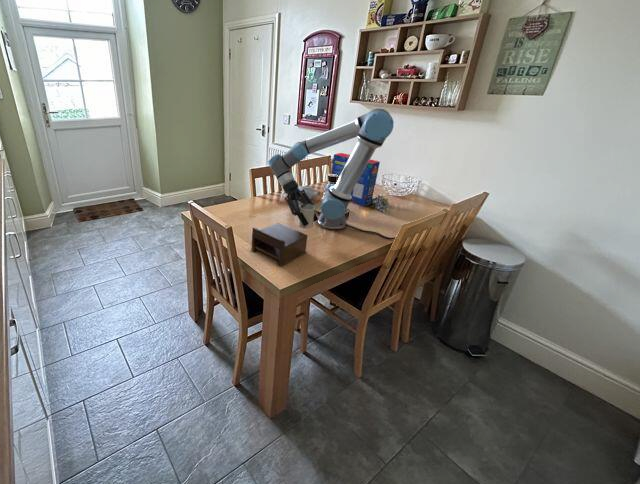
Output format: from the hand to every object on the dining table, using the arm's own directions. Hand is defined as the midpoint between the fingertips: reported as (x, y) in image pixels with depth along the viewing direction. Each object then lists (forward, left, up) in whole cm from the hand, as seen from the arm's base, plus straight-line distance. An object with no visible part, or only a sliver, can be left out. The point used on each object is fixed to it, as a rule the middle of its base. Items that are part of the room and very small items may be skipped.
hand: (311, 222), depth 160 cm
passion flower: (-37, -54, -10) cm, 67 cm away
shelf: (+13, +16, -10) cm, 22 cm away
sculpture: (+11, -54, -10) cm, 56 cm away
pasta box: (-20, -68, -10) cm, 72 cm away
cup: (+3, -2, -3) cm, 4 cm away
